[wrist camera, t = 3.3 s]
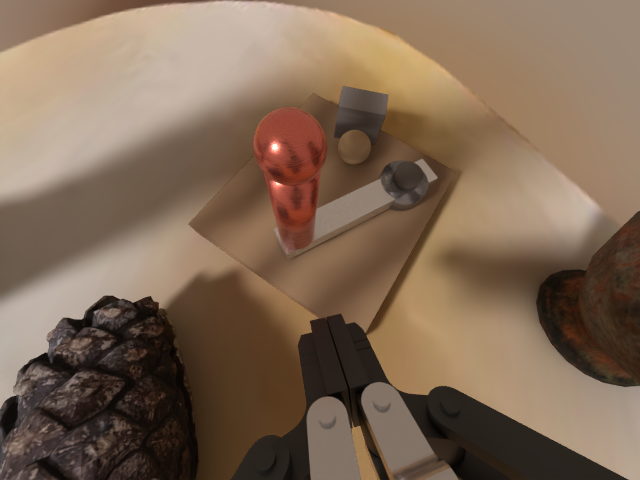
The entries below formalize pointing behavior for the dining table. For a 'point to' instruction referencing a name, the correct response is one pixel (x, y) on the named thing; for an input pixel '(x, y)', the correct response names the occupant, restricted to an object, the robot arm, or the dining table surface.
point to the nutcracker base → (335, 182)
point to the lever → (303, 183)
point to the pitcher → (599, 310)
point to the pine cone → (103, 401)
